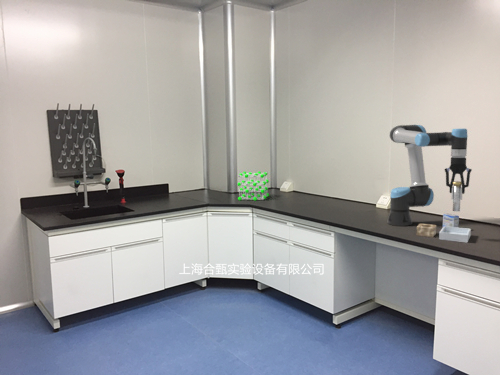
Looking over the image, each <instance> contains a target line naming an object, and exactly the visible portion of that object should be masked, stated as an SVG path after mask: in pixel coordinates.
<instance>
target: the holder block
mask: <svg viewBox="0 0 500 375" xmlns="http://www.w3.org/2000/svg"><path fill="white" fill-rule="evenodd" d="M436 234H437V225H436V224H430V223H418V225H417V226H416V236H420V237H421V236H422V237H430V238H434V237H435V236H436Z"/></svg>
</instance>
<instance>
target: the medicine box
mask: <svg viewBox="0 0 500 375" xmlns="http://www.w3.org/2000/svg"><path fill="white" fill-rule="evenodd" d="M459 218H460V216H459V215H457V214H456V215H455V214H452V213H443V214H442V228H443V227H444V226H448V227H458V228H459V222H460V219H459Z"/></svg>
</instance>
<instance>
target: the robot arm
mask: <svg viewBox="0 0 500 375" xmlns="http://www.w3.org/2000/svg"><path fill="white" fill-rule="evenodd" d="M389 139H390V140H391V141H392V142H393V143H397V144H404V147H405V148H406V149H407V155H408V164H409V165H408V166H409V173H410V181H411V182H410V183H411V184H410V185H409V187H407V186H400V187H394V188H392V189H391V191H390V195H389V196H390V202H389V203H390V208H389V214H388V217H387V221H386V222H387V224H388V225H391V226H397V227H402V226H403V227H408V226H412V224H413V220H412V216H411V214H410V208H417V207H419V208H420V207H428V206H430V205H431V204H433V201H434V196H435V195H434V191H433V188H430V186H429V184H428V183H427V182H426V176H425V175H426V173H425V165H424V164H425V163H424V158H423V157H424V156H423V149H422V148H423V147H442V146H443V147H444V146H445V147H446V146H447V147H448V146H450V147H451V148H450V165H449V167H445V168H444V173H445V186H446V187H449V193H450V194H451V196H450V197H451V198H450V199H451V200H453V190H454V184H452V182H454V181H455V177H456V175H459V176H460V182H462V185H461V188H460V201H462V200H463V195H465V191H466V189H465V188H468V187H469V186H470V177H471V172H472V170H473V169H472V168H469V167H468V166H467V154H468V153H467V147H468V129H467V128H452V130H451V132H450V131H449V132H448V131H442V132H427V130H426V128H425V127H424V126H423V125H421V124H406V125H405V124H401V125H397V126H394V127H392V129H390V131H389ZM450 171H451V173H452V174H451V175H452V176H451V179H450ZM465 171H466V179H464V178H465V177H464V172H465ZM465 180H466V182H465Z"/></svg>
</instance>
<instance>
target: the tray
mask: <svg viewBox="0 0 500 375" xmlns="http://www.w3.org/2000/svg"><path fill="white" fill-rule="evenodd" d="M471 232H472V228H468V227H467V228H466V227H459V226H458V227H448V226H444V227H443V226H442V228H441V229H440V230H439V232H438V239H439V240H442V241H449V242H460V243H468V242H469V240H470V238H471V235H472V233H471Z"/></svg>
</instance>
